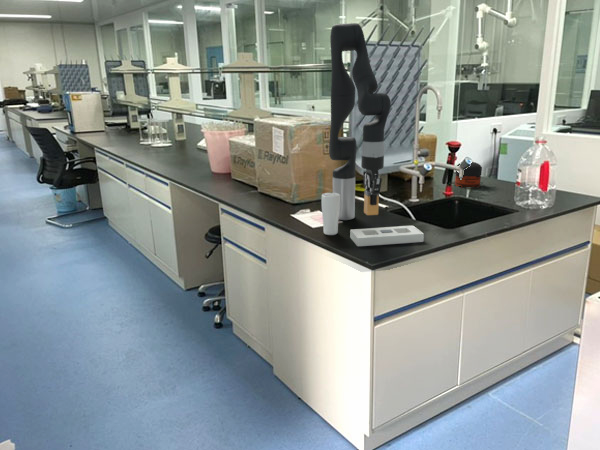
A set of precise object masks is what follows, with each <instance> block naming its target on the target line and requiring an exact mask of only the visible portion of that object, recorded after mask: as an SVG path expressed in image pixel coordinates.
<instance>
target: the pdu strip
mask: <svg viewBox="0 0 600 450" xmlns="http://www.w3.org/2000/svg"><path fill="white" fill-rule="evenodd" d="M349 233H350V235H349V238H350V239H351V241H352V242H353V243H354V244H355V245H356V246H357V247H367V246H368V247H369V246H370V247H371V246H383V245H396V244H410V243H424V239H425V238H424V237H425V235H424V234H425V233H423V232H422V231H421V230H420V229H418V228H417V227H415V226H414V225H399V226H385V227H384V226H381V227H369V228H355V229H350V231H349Z"/></svg>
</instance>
